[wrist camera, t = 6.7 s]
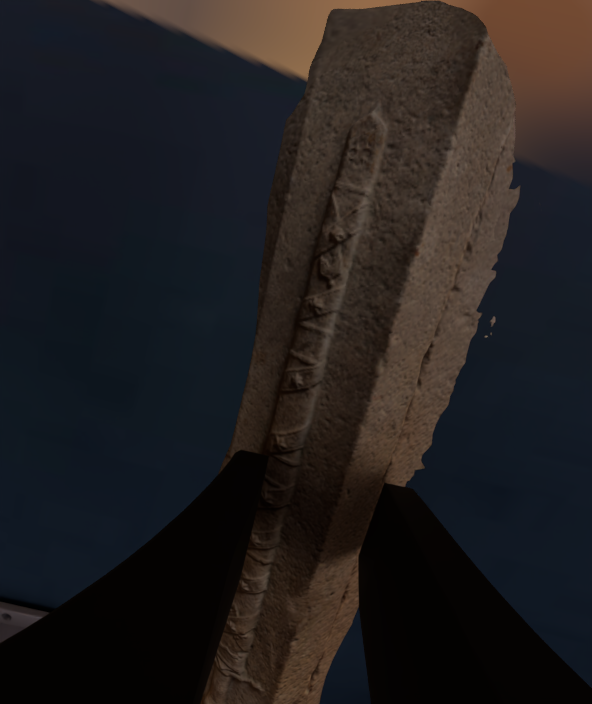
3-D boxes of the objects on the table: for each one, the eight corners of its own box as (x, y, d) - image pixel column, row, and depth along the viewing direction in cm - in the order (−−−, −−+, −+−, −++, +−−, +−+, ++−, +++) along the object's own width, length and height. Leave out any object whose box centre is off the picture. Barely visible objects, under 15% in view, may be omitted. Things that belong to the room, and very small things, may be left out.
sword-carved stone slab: (331, 736, 13) (198, 819, 10) (280, 636, 15) (164, 684, 13) (616, 83, 7) (465, -61, 5) (459, 97, 10) (309, 8, 7)
